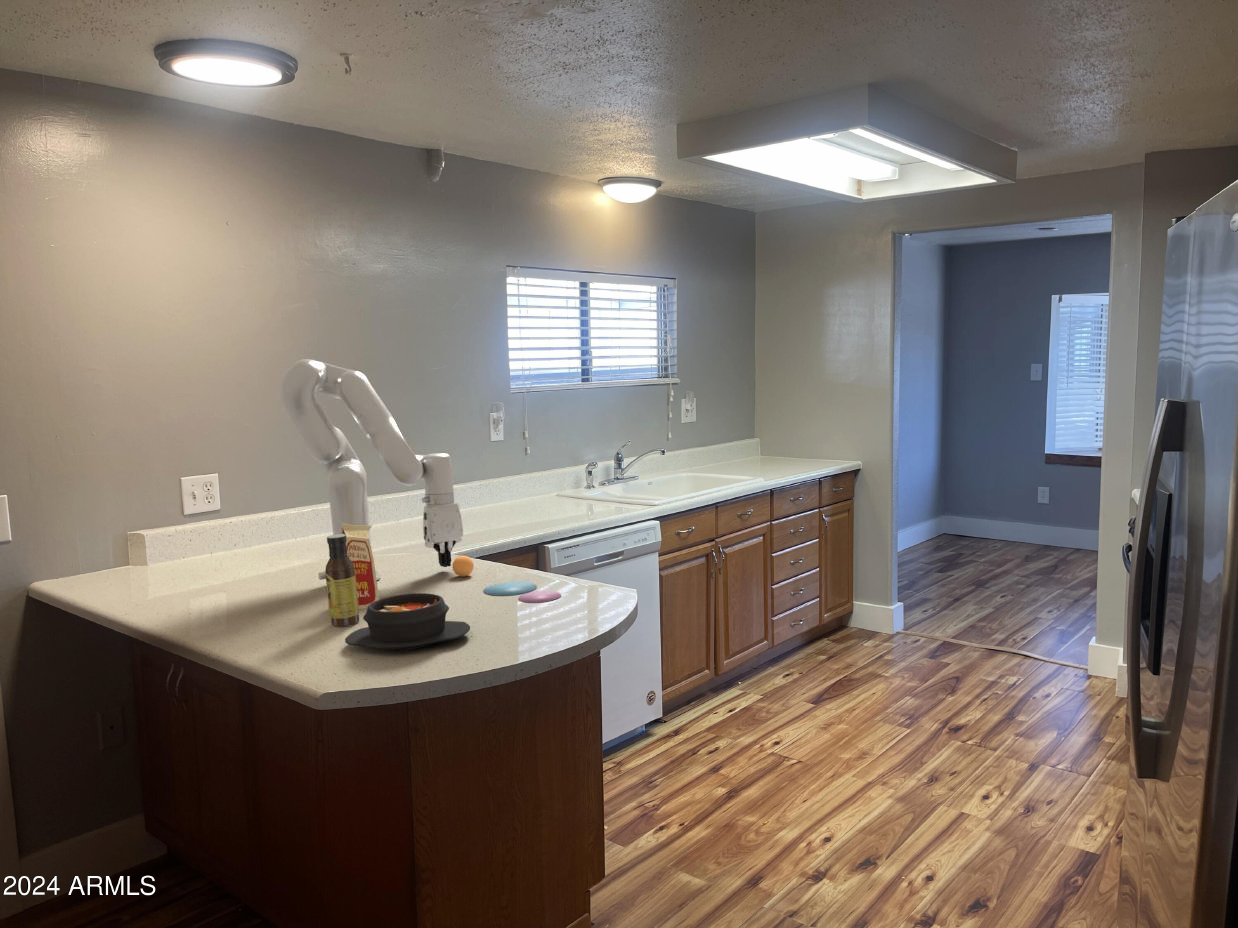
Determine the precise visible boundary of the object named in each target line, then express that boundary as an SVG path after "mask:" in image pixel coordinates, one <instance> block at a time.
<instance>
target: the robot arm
mask: <svg viewBox="0 0 1238 928" xmlns="http://www.w3.org/2000/svg"><path fill="white" fill-rule="evenodd" d="M281 381H282V382H281V386H280V398H281V403H282V406H283V408H284V410H285V412H286V414H287V416H288V418H289V420H290V421H291V423H292V425H293V427H294V428H295V430H296V432H297V434H298V435H299V438H300V439H301V440H302V442H303V444H304V445H305V448H306V449H307V451H308V454H309V455H310V457H312V458H313V459H314V460H315V461H316V462H318V463H319V466H320V467H321V468H322V470H323V471H324V473H325V474H326V476H327V493H328V499H329V507H330V515H331V516H330V517H331V526H332V535H336V534H342V524H341V523H344V524H350V525H356V526H362V525H371V522H370V514H369V513H370V512H369V504H368V503H369V501H368V493H367V492H368V491H367V487H368V486H367V480H368V478H367V476H368V475H367V472H366V469H365V467H364V466H363V463H362V462H361V461H360V459H359V457H358V455H357V454H356V452H355V450H354V449H353V447H352V445H351V444H350V442H349V440H348V439H347V436H346V435H345V434H344V432H342V431H341V429H339V428H338V427H336V426H334V425H333V423H332V421H331V420H330V417H328V415H327V413H326V411H325V410H324V408H323V406H322V405H321V403H320V401H319V399H318V397H317V395H321V396H327V397H330V398H334V399H337V400H338V399H339V400H341V402H342V403H343V404H344V406H345V407H346V409H347V411H349V413H350V415H351V416H352V417H353V419H354V420H355V422H356V424H358V426H359V428H360V429H361V431H362V432H363V433H364V435H365V437H366V439H367V440H368V441H369V443H370V444H371V445H372V446H373V447H374V449H375V450H376V452H377V453H378V455H379V457H380V458H381V460H382V461H383V463H384V464H385V466H386V467H387V468H388V470H389V471H390V472H391V474H392V475H393V477H394V478H395V480H396V481H397V482H398V483H399V484H401V485H402V486H407V487H409V486H410V487H411V486H415V485H417V484H419V482H420V481H421V480H423V481H424V493H425V494H424V497H422V498H421V503H422V504H424V503H425V505H424V508H423V513H422V533H423V534H422V535H423V540H424V542H425V543H424V547H425V548H429V549H433V550H435V552H437V557H438V564H439V566H440V567H443V568H447V567H451V566H452V554H451V552H452V551H453V548H454V547H455V545H456V544H458V543H461V542H462V540H463V539H462V538H463V536H464V527H463V520H462V515H461V511H460V507H459V504H458V502H455V491H454V482H453V467H452V466H453V465H452V458H451V456H450V454H448V453H447V452H446V453H444V452H442V453H441V452H438V453H437V452H436V453H429V454H415V453H414V451H413V450H412V449H411V447H410V446H409V444H408V443H407V441H406V439H405V438H404V436H403V435H402V433H401V431H400V429H399V427H398V425H397V422H396V420H395V418H394V417H393V415H392V414H391V412H390V411H389V409H388V408H387V406H386V405H385V403H384V402H383V401H382V399H381V398H380V396H379V394H378V393H377V392H376V390H375V388H374V387H373V386H372V384H371V383H370V381H369V379H368V378H367V376H366V375H365V374H364V373H363V372H361V371H358V370H353V369H349V368H345V367H340V366H336V365H333V364H330V363H327V362H322V361H318V360H316V359H310V358H303V359H300V360H297V361H295V363H293V364H292V365H290V367H289V369H288V370H287V371H286V373H285V375H284V377H283V379H282V380H281ZM371 534H372V533H371V529H370V530H369V540H370V545H371V550H372V551H373V545H372V535H371ZM375 572H376V579H377V581H378V580H380V579H381V573H380V572H379V571H375ZM317 575H318V576H317V577H318V579H319V581H322V580H326V575H325V571H321V572H318V573H317Z"/></svg>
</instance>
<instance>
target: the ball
mask: <svg viewBox="0 0 1238 928" xmlns="http://www.w3.org/2000/svg"><path fill="white" fill-rule="evenodd" d="M451 566H452V567H451V568H452V571H453V573H454V574H455V575H456V576H458V577H468V576H470V574H472V572H473V571H474V561H473V560H472V559H471V558H470V557H469V556H467V555H459V556H457V557H456V558H455V559H454V560H453V562H452V564H451Z"/></svg>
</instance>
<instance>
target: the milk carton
mask: <svg viewBox="0 0 1238 928" xmlns="http://www.w3.org/2000/svg"><path fill="white" fill-rule="evenodd" d="M341 524H342V534H345V535H346V539H347V541H346V548H347V556H348V557H349V558H350V560H351V561H352V562H353V564H354V572H355V576H356V586H357V596H358V605H359V608H362V609H366V608H368V606H369V605H370V604H371V603H373V602H375V601H377V600H379V589H378V588H379V586H378V582H377V581H378V580H377V579H376V572H377V571H376V566H375V559H374V556H373V549H372V550H371V545H370V540H369V530H370V531H371V528H372V527H373V525H371V524H370V525H362V526H356V525H350V524H344V523H341Z"/></svg>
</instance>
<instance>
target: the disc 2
mask: <svg viewBox="0 0 1238 928" xmlns="http://www.w3.org/2000/svg"><path fill="white" fill-rule="evenodd" d="M561 597H562V593H560V592H559V591H553V590H537V591H536V590H534V591H531V592H527V593H523V594H520V596H518V600H519V601H521V602H522V603H531V604H532V603H535V604H536V603H547V602H553V601H555V600H558V599H559V598H561Z"/></svg>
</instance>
